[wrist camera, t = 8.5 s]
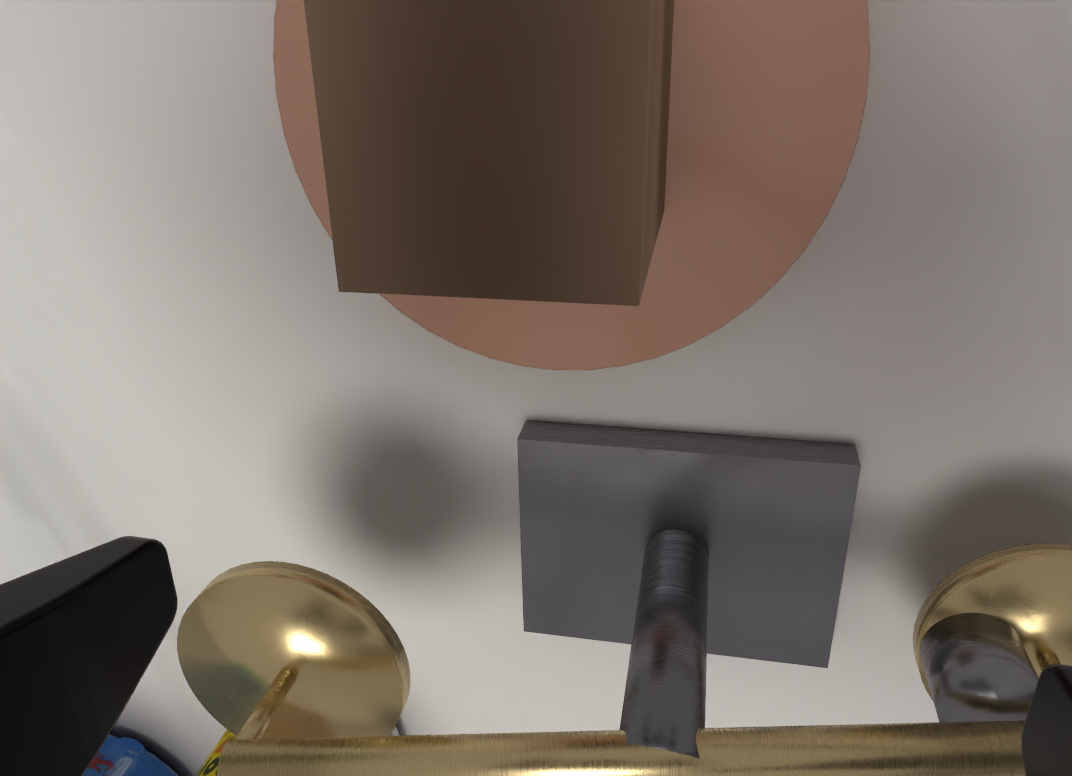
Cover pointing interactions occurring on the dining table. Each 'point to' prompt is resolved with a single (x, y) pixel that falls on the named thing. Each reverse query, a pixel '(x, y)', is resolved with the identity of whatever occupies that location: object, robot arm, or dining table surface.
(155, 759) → the snack cup
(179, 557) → the dining table surface
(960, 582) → the balance
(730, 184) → the dish
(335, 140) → the block
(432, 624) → the dining table surface
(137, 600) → the robot arm
